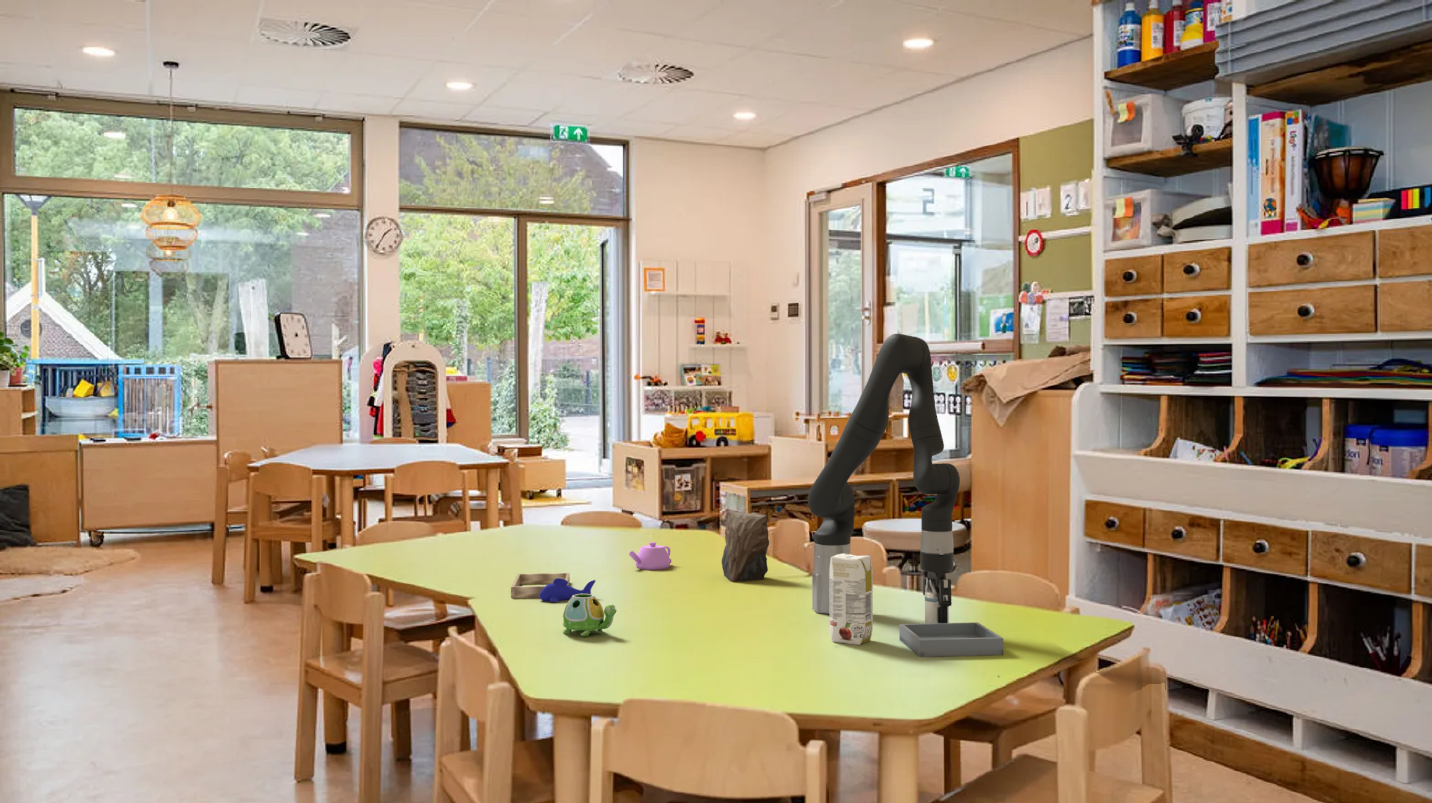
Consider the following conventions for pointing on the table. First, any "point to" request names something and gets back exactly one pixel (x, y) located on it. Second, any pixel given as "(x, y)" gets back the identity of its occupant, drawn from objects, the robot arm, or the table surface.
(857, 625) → the juice carton
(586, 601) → the turtle holder
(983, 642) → the tray
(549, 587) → the fish toy
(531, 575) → the toy crate
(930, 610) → the cup
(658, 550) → the teapot
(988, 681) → the table surface
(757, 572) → the bark-textured rock
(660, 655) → the table surface
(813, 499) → the robot arm
